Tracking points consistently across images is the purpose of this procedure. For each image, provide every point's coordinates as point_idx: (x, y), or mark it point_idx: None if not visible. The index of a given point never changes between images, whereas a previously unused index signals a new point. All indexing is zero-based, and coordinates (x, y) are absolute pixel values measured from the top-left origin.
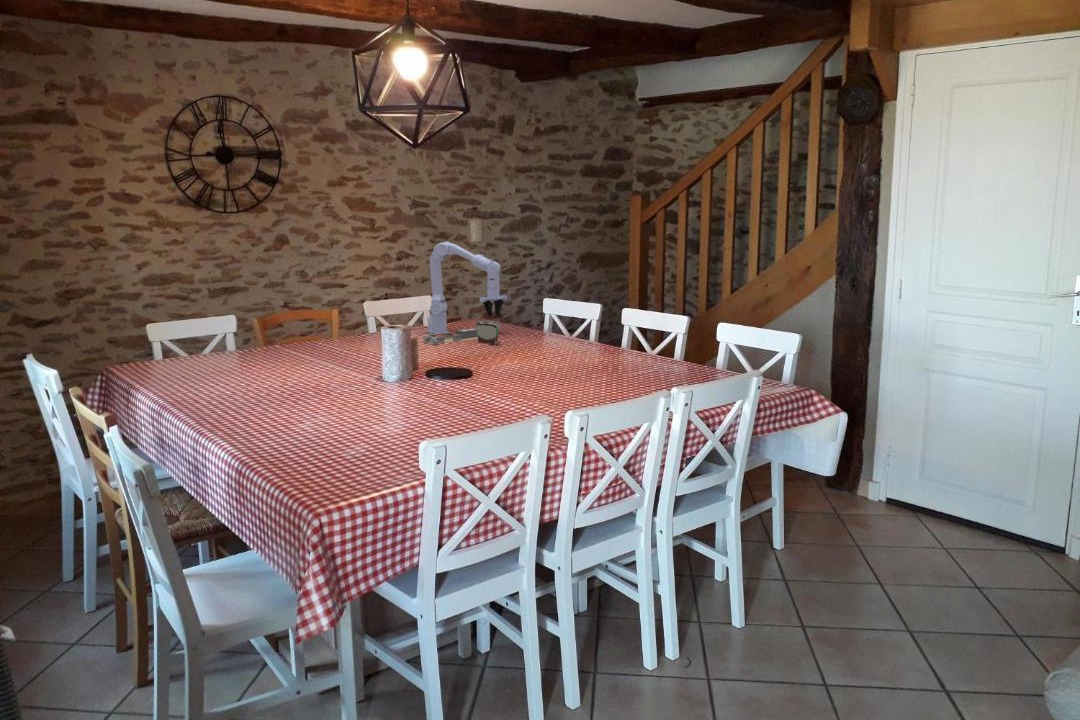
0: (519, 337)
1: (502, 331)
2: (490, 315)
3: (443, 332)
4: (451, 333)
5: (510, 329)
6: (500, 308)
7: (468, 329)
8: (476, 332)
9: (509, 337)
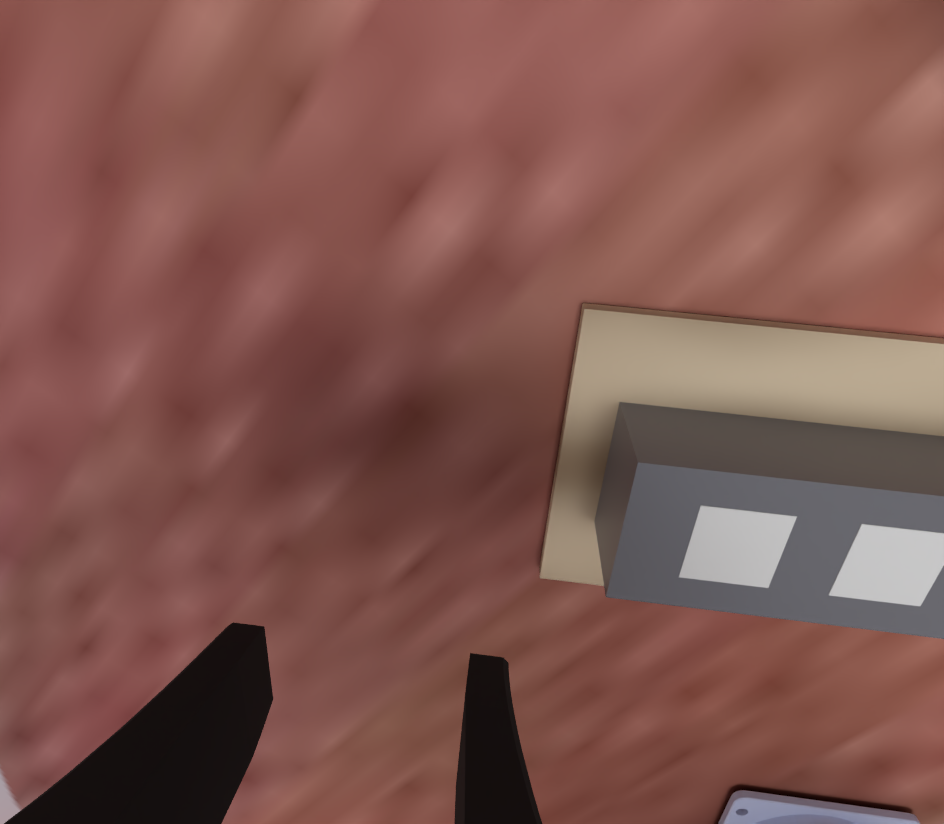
0: (185, 5)
1: (180, 547)
2: (504, 679)
3: (825, 820)
4: None
5: (34, 572)
6: (58, 797)
7: (924, 597)
8: (854, 463)
9: (340, 139)
